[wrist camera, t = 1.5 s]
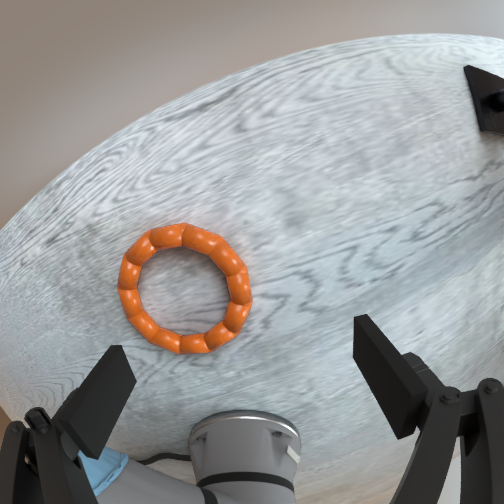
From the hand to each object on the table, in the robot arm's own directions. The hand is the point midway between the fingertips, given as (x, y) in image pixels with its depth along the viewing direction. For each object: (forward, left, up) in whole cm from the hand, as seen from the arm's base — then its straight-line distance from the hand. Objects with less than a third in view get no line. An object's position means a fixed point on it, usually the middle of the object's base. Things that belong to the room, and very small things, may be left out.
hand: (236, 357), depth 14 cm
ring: (-6, 0, -11) cm, 13 cm away
